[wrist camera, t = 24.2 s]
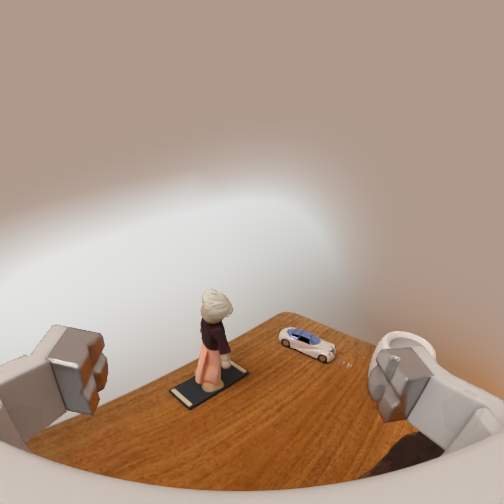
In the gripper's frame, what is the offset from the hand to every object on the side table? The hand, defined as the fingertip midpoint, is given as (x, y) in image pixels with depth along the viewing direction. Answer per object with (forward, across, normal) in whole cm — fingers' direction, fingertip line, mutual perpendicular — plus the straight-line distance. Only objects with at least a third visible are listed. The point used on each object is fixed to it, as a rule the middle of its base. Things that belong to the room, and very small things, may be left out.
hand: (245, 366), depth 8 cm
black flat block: (+22, 0, +22) cm, 31 cm away
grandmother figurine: (+22, 0, +22) cm, 31 cm away
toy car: (+29, -15, +22) cm, 39 cm away
